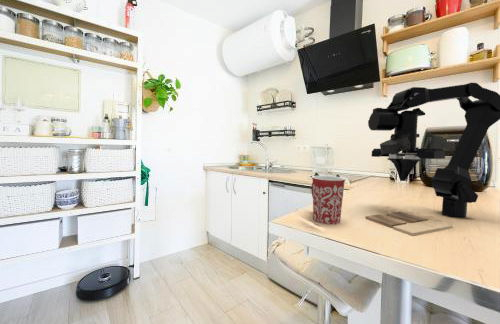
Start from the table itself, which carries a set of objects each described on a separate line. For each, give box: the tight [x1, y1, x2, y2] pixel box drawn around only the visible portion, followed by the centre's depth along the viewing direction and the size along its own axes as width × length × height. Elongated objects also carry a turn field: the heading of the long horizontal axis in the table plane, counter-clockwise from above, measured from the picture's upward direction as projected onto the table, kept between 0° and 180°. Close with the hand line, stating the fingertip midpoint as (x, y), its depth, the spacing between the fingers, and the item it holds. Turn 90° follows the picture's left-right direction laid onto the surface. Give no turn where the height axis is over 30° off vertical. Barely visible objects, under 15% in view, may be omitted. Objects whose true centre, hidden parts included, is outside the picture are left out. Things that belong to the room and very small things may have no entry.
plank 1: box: [364, 213, 408, 229], centre depth 61 cm, size 6×8×1 cm
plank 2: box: [386, 211, 429, 224], centre depth 65 cm, size 6×8×1 cm
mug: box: [311, 175, 346, 227], centre depth 64 cm, size 13×9×14 cm
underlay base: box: [392, 219, 454, 237], centre depth 61 cm, size 16×14×2 cm
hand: (402, 180), depth 68 cm, fingers closed
